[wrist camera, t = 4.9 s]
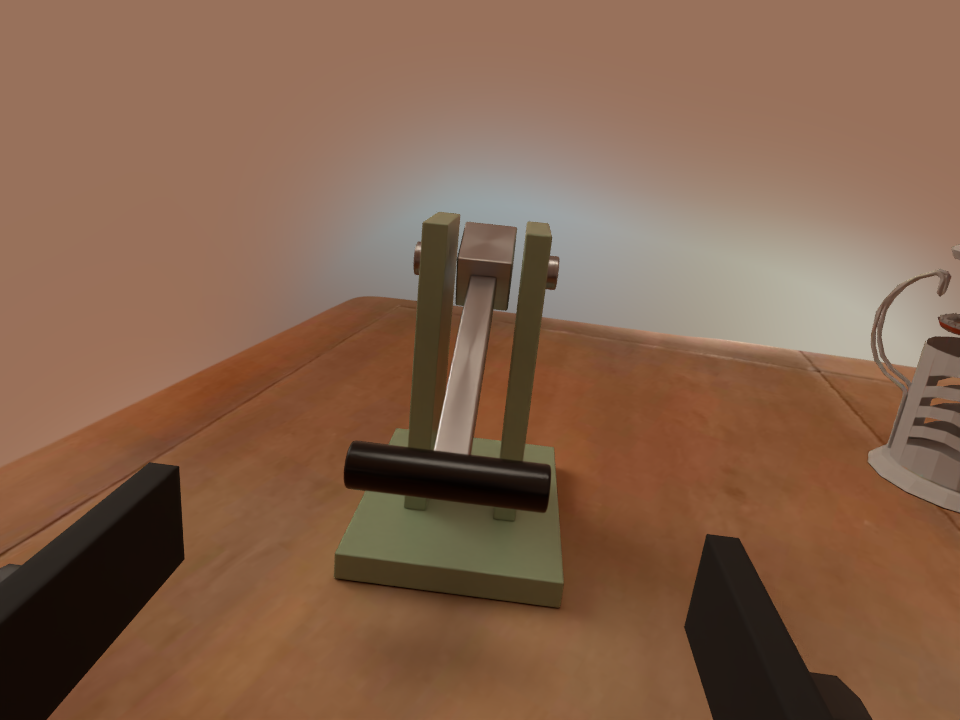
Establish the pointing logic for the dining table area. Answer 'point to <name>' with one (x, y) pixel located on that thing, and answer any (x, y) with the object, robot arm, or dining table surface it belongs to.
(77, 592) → the robot arm
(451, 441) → the lever
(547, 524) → the bracket
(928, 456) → the french press
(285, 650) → the dining table surface
